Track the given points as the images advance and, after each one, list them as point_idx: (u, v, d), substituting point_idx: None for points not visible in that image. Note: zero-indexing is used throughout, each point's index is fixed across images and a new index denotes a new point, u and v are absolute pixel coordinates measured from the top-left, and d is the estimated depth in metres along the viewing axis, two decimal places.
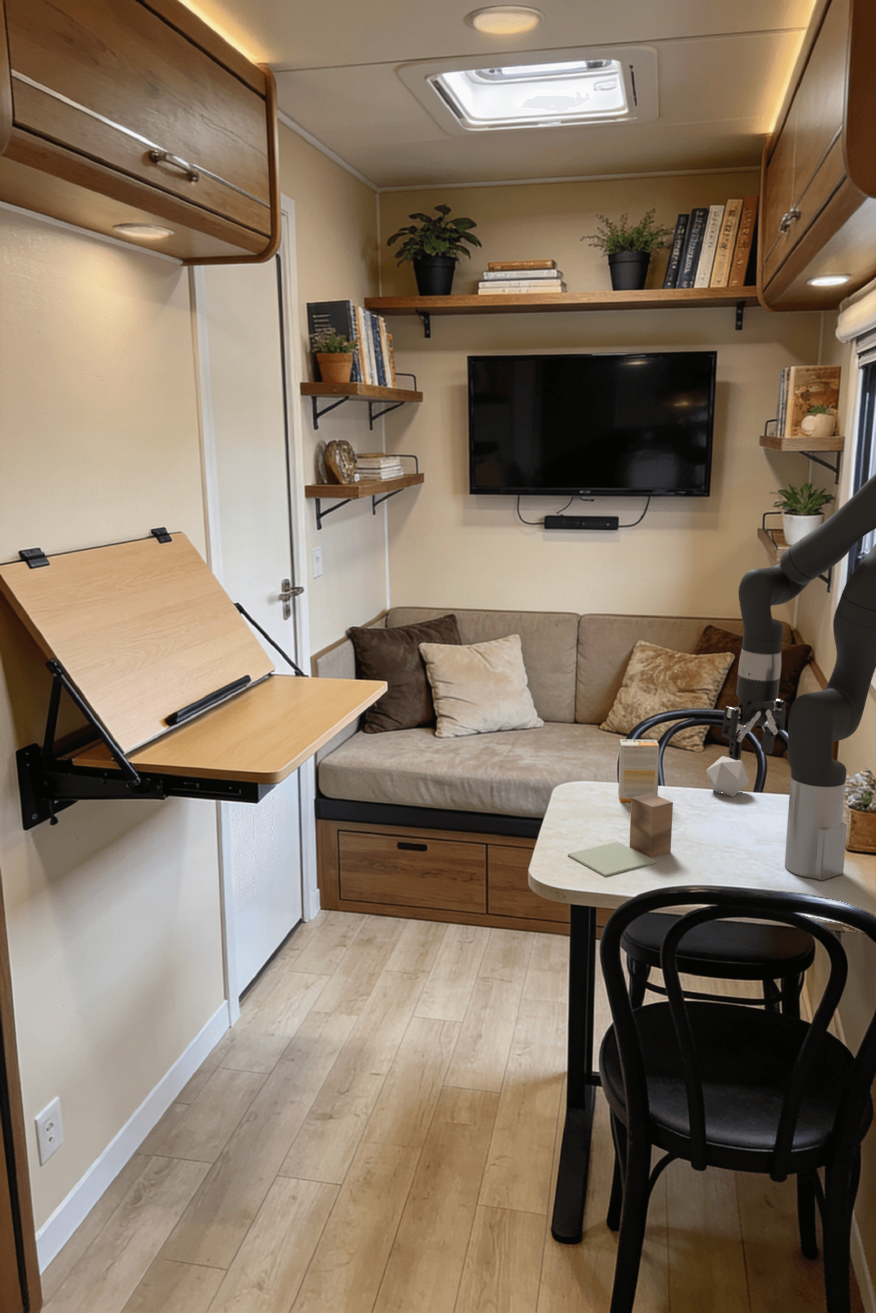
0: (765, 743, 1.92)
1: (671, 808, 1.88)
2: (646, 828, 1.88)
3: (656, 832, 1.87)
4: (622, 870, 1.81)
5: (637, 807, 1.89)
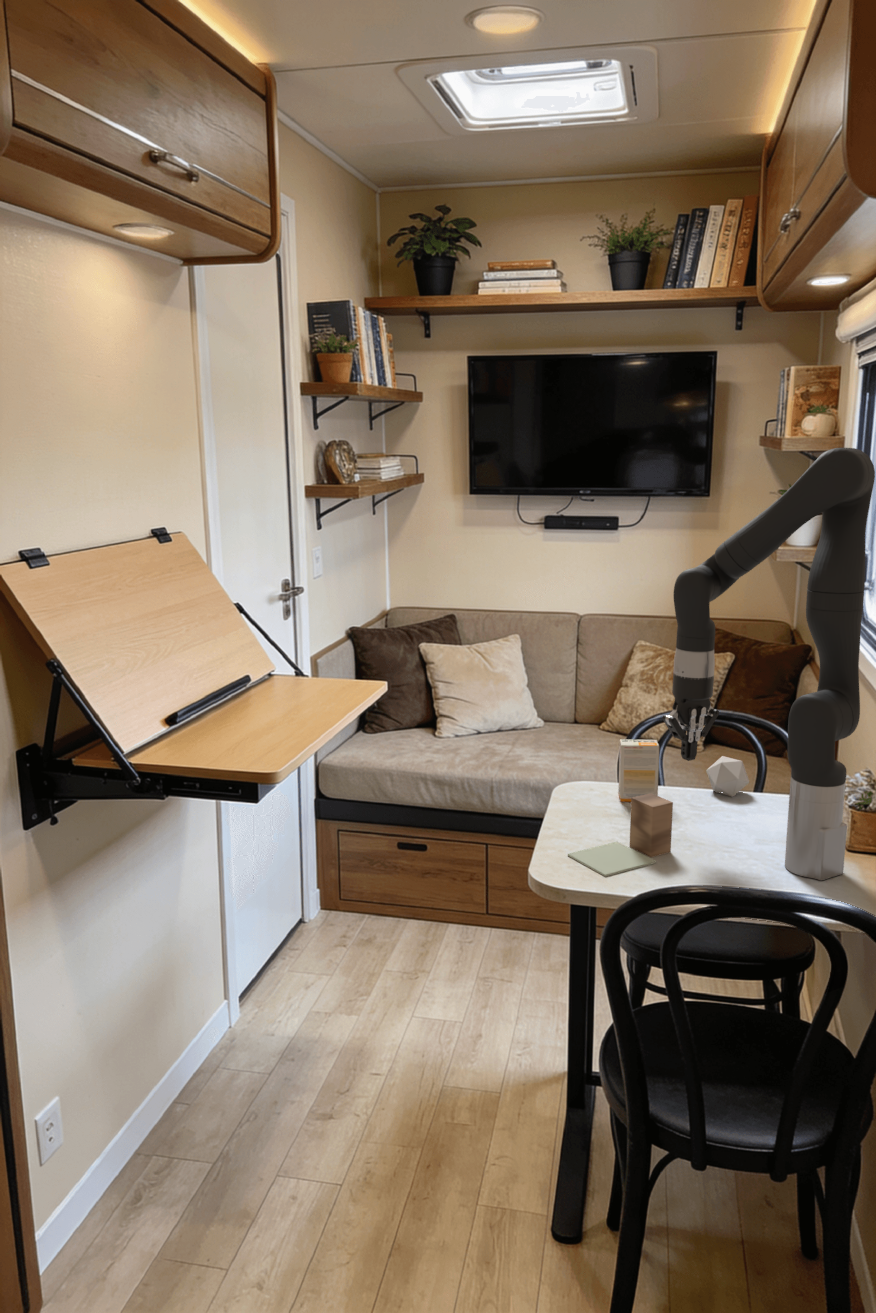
0: None
1: (671, 808, 1.88)
2: (646, 828, 1.88)
3: (656, 831, 1.87)
4: (622, 870, 1.81)
5: (637, 807, 1.89)
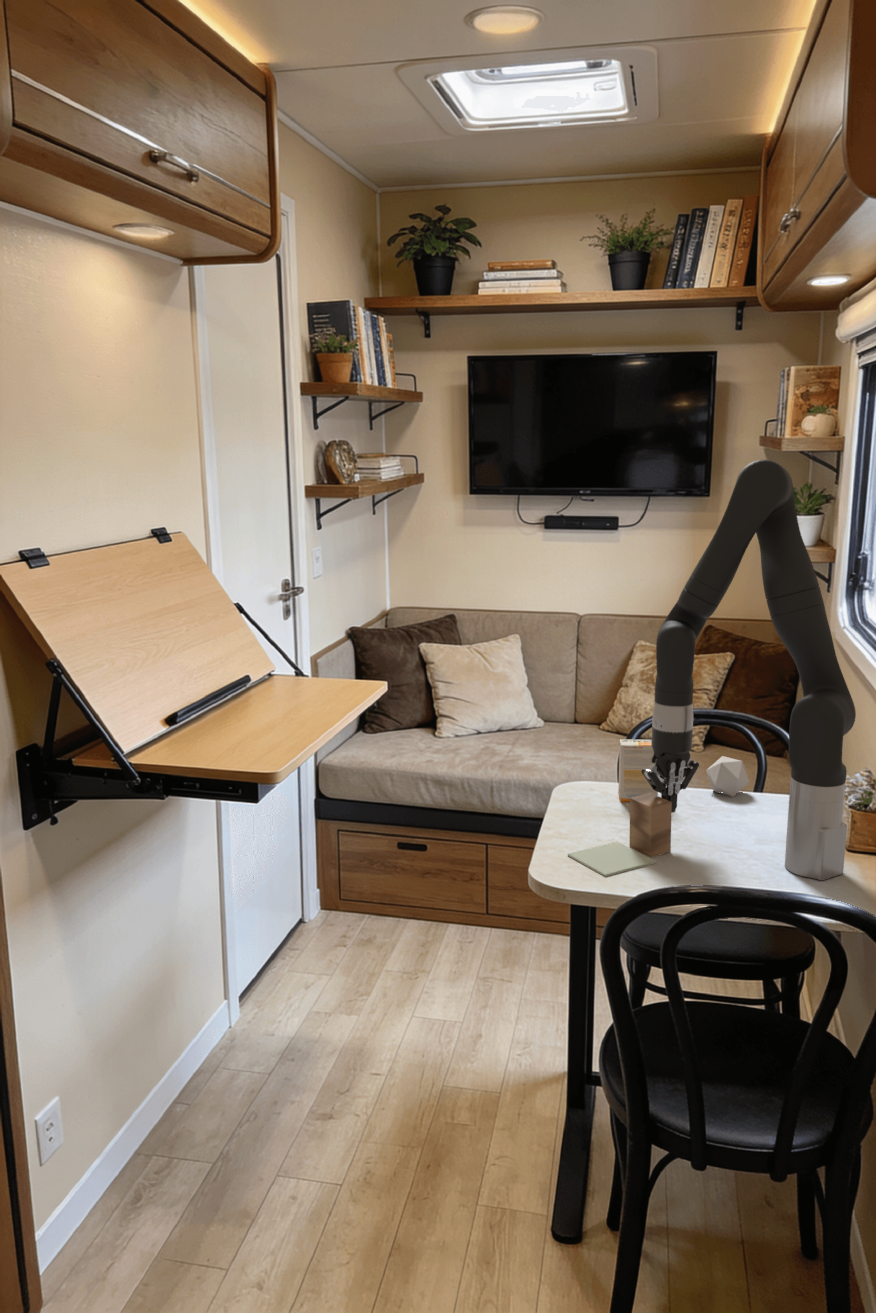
0: None
1: (670, 808, 1.88)
2: (646, 828, 1.87)
3: (655, 832, 1.87)
4: (622, 870, 1.81)
5: (636, 807, 1.89)
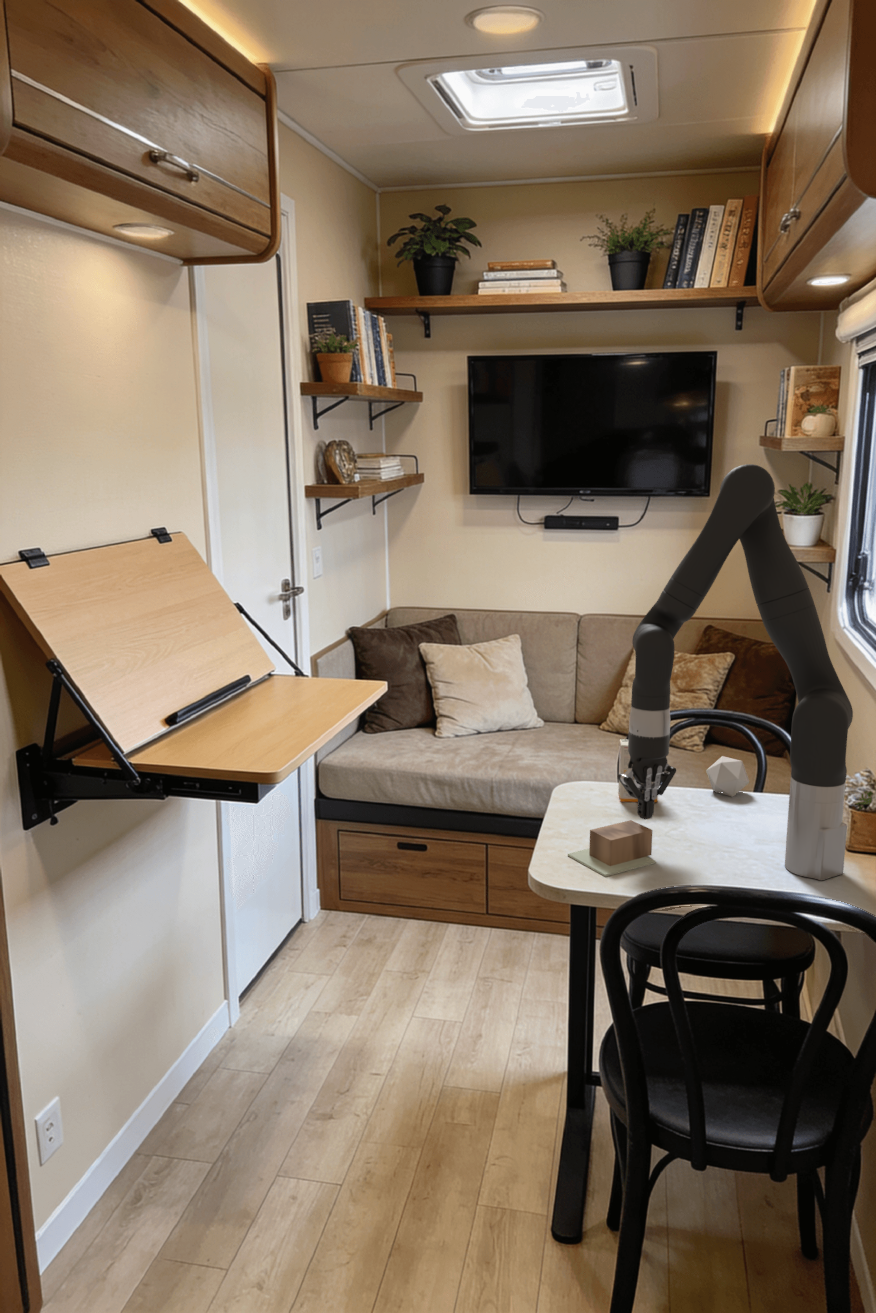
0: None
1: (615, 840, 1.82)
2: None
3: (631, 854, 1.85)
4: (622, 870, 1.81)
5: None
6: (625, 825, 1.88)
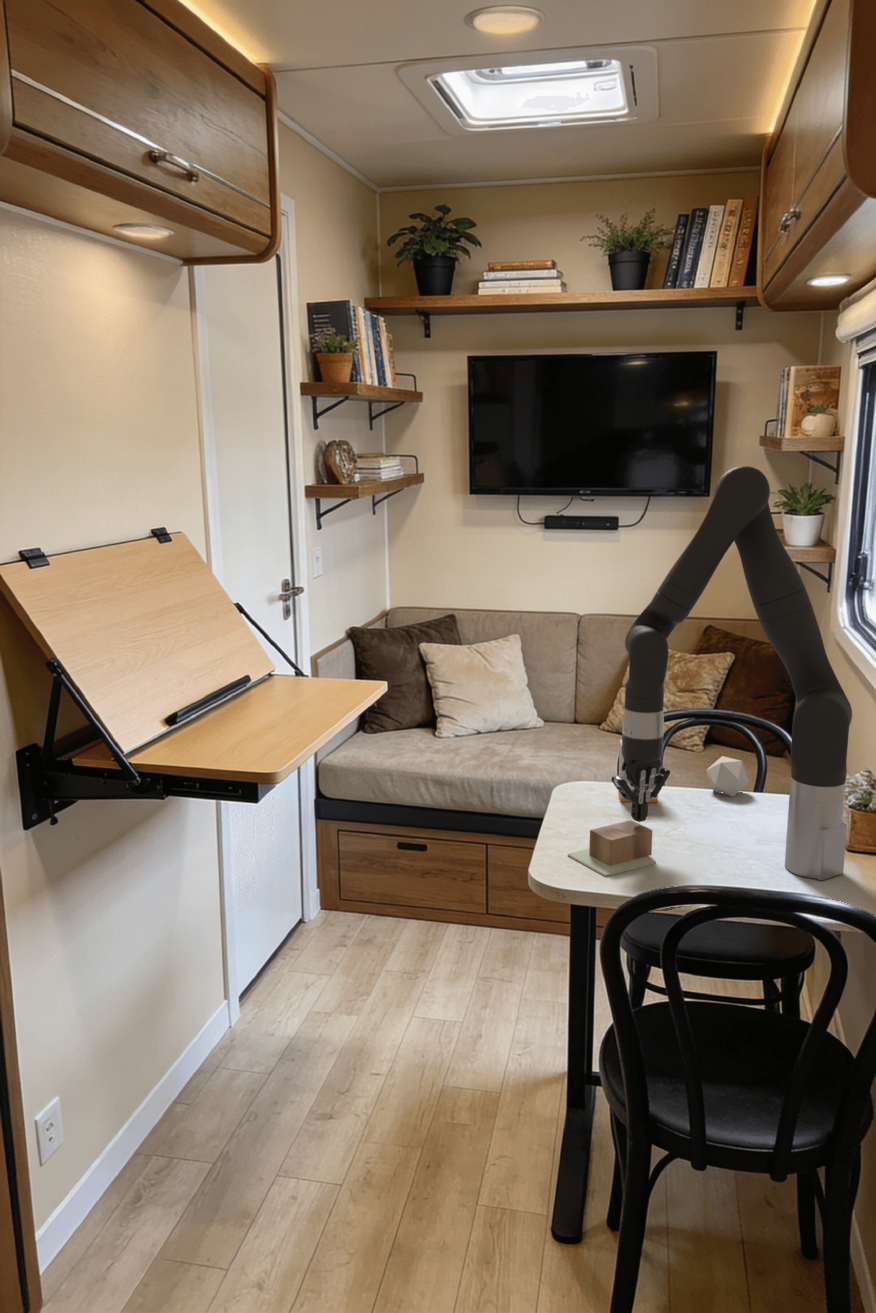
0: None
1: (615, 840, 1.82)
2: None
3: (631, 854, 1.85)
4: (622, 870, 1.81)
5: None
6: (625, 825, 1.88)
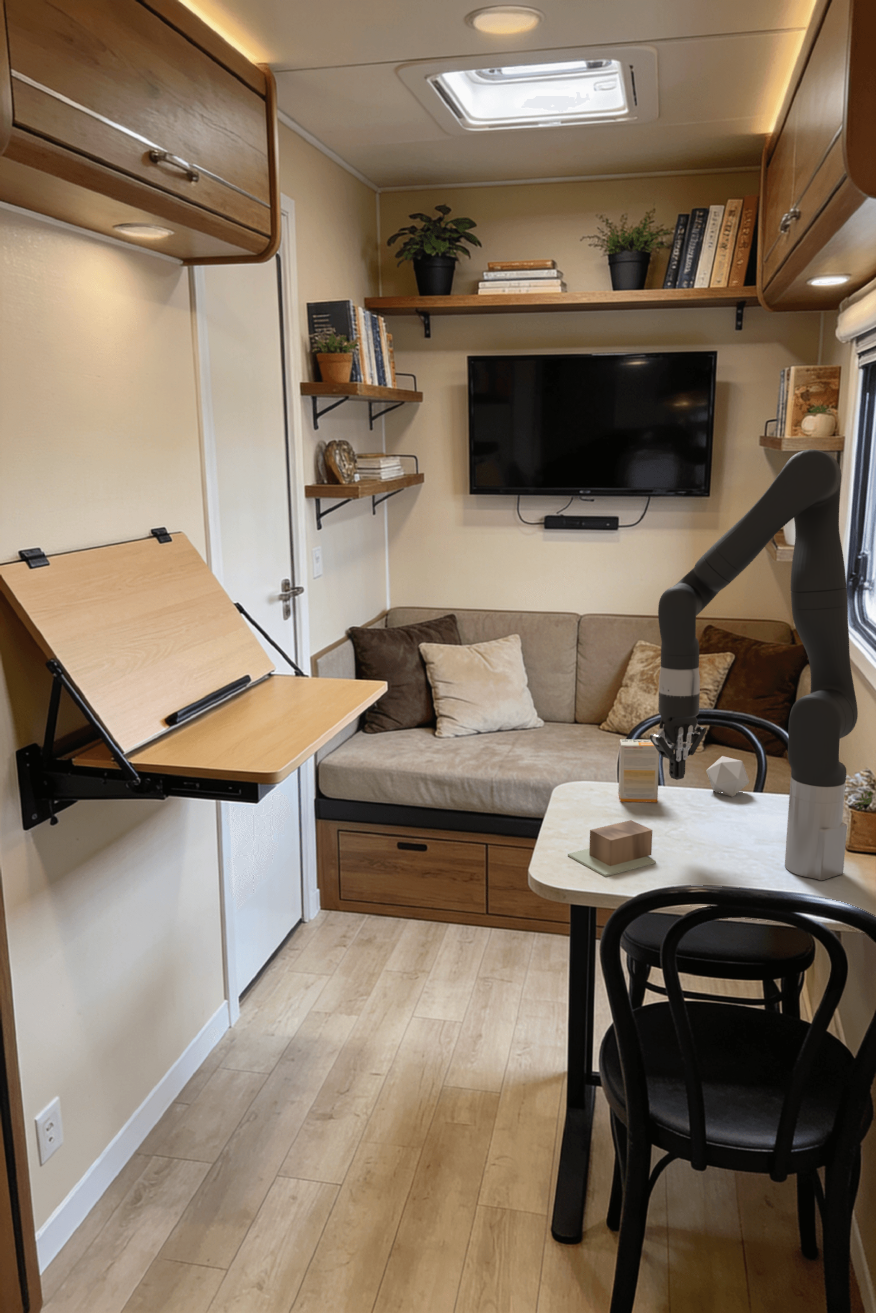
0: None
1: (615, 840, 1.82)
2: None
3: (631, 854, 1.85)
4: (622, 870, 1.81)
5: None
6: (625, 825, 1.88)
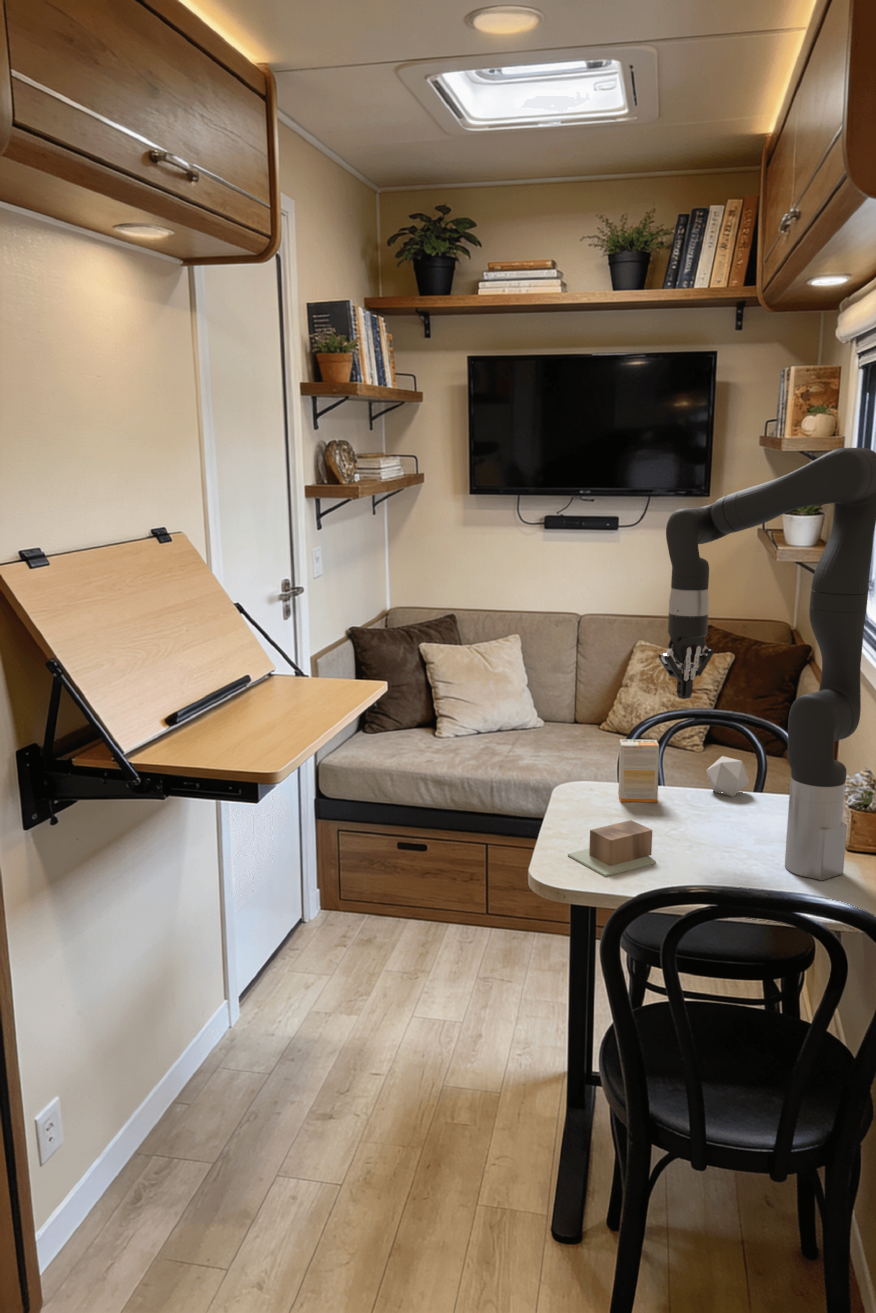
0: None
1: (615, 840, 1.82)
2: None
3: (631, 854, 1.85)
4: (622, 870, 1.81)
5: None
6: (625, 825, 1.88)
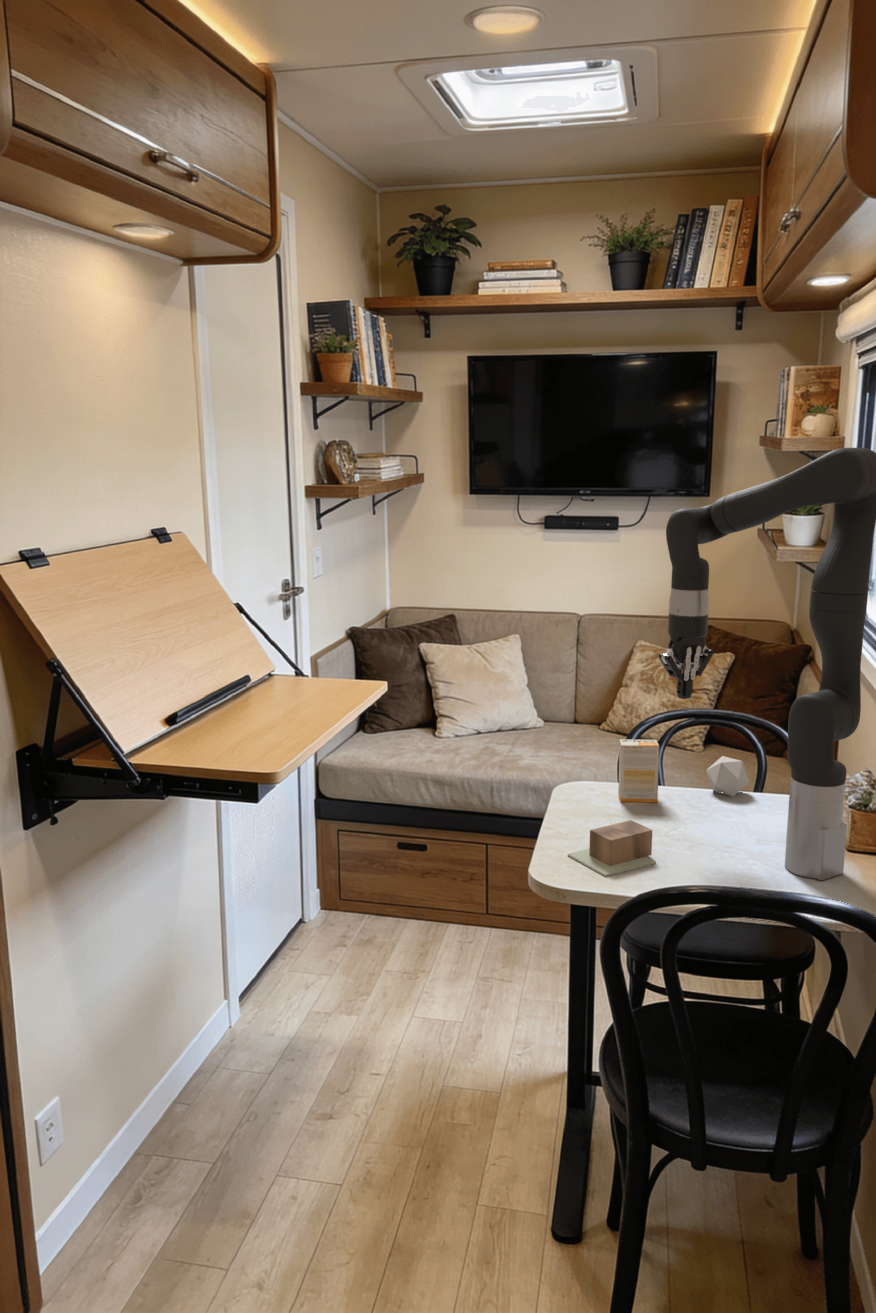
0: None
1: (615, 840, 1.82)
2: None
3: (631, 854, 1.85)
4: (622, 870, 1.81)
5: None
6: (625, 825, 1.88)
